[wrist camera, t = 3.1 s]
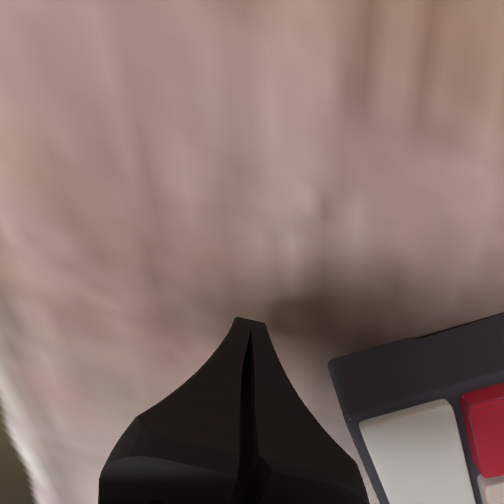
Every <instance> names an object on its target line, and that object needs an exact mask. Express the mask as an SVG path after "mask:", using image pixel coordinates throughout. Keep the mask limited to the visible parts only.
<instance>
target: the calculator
mask: <svg viewBox="0 0 504 504" xmlns="http://www.w3.org/2000/svg"><path fill="white" fill-rule="evenodd" d="M328 369H329V372H330V375H331V378H332V381H333V384H334V388H335V391H336V394H337V397H338V400H339V404H340V407H341V410H342V413H343V416H344V419H345V422H346V424H347V427H348V429H349V432H350V434H351V436H352V439H353V441H354V443H355V446H356V448H357V450H358V453H359V455H360V457H361V460H362V462H363V465H364V467H365V469H366V472H367V474H368V476H369V479H370V481H371V483H372V486H373V488H374V490H375V493H376V495H377V497H378V500H379V502H380V504H504V313H502V314H498V315H495V316H492V317H489V318H486V319H482V320H479V321H476V322H473V323H469V324H466V325H463V326H460V327H457V328H453V329H450V330H447V331H444V332H441V333H437V334H434V335H431V336H427V337H424V338H421V339H412V338H407V339H403V340H399V341H396V342H392V343H388V344H385V345H381V346H377V347H374V348H370V349H367V350H363V351H359V352H356V353H352V354H348V355H345V356H341V357H338V358H334V359H332V360H330V361H329V363H328Z"/></svg>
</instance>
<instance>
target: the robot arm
mask: <svg viewBox="0 0 504 504" xmlns="http://www.w3.org/2000/svg"><path fill="white" fill-rule="evenodd" d="M98 504H370V503H369V499H368V496H367V492H366V488H365V485H364V482H363V479H362V477H361V474H360V471H359V469H358V466H357V463H356V462H355V461H354V460H353V459H352V458H351V457H350V456H349V455H348V454H347V453H346V452H345V451H344V450H343V449H342V448H341V447H340V446H339V445H338V444H337V443H336V442H335V441H334V440H333V439H332V438H331V437H330V435H329V434H328V433H327V432H326V431H325V430H324V429H323V428H322V426H321V425H320V424H319V423H318V422H317V420H316V419H315V418H314V416H313V415H312V414H311V412H310V411H309V410H308V409H307V407H306V406H305V405H304V403H303V402H302V400H301V399H300V397H299V396H298V394H297V393H296V391H295V389H294V388H293V386H292V384H291V383H290V381H289V379H288V377H287V375H286V373H285V371H284V370H283V368H282V365H281V363H280V361H279V359H278V357H277V354H276V352H275V350H274V347H273V345H272V342H271V339H270V337H269V334H268V330H267V327H266V325H265V323H262V322H257V321H253V320H249V319H244V318H240V317H236V318H234V322H233V324H232V327H231V329H230V330H229V332H228V334H227V336H226V337H225V338H224V340H223V341H222V343H221V344H220V346H219V347H218V348H217V350H216V351H215V352H214V353H213V355H212V356H211V357H210V358H209V359H208V360H207V362H206V363H205V364H204V365H203V366H202V367H201V368H200V369H199V370H198V371H197V372H196V373H195V374H194V375H193V376H192V377H191V378H189V379H188V380H187V381H186V382H185V383H184V384H183V385H182V386H180V387H179V388H178V389H176V390H175V391H174V392H173V393H171V394H170V395H169V396H167V397H166V398H165V399H163V400H162V401H160V402H159V403H158V404H156V405H154V406H153V407H151V408H150V409H148V410H146V411H145V412H143V413H142V414H140V415H138V416H137V417H136V418H135V419H134V420H133V422H132V423H131V424H130V425H129V427H128V428H127V429H126V431H125V432H124V433H123V435H122V436H121V437H120V439H119V440H118V442H117V443H116V445H115V447H114V448H113V450H112V452H111V453H110V455H109V457H108V459H107V461H106V463H105V465H104V467H103V469H102V471H101V475H100V478H99V497H98Z"/></svg>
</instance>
